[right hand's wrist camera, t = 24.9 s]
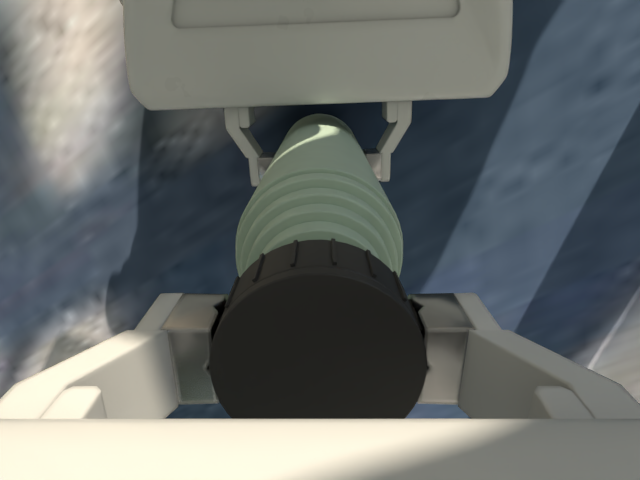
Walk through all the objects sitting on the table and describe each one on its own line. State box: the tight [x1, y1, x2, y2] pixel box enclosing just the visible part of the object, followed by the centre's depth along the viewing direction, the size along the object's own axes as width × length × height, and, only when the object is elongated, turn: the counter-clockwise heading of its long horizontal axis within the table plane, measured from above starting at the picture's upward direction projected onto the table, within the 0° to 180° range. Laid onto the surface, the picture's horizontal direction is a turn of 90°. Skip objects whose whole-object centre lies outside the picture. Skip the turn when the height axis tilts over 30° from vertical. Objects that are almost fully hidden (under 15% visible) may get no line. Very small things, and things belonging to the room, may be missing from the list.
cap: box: [209, 238, 427, 419], centre depth 9 cm, size 4×4×2 cm
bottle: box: [236, 114, 403, 277], centre depth 20 cm, size 5×5×24 cm
